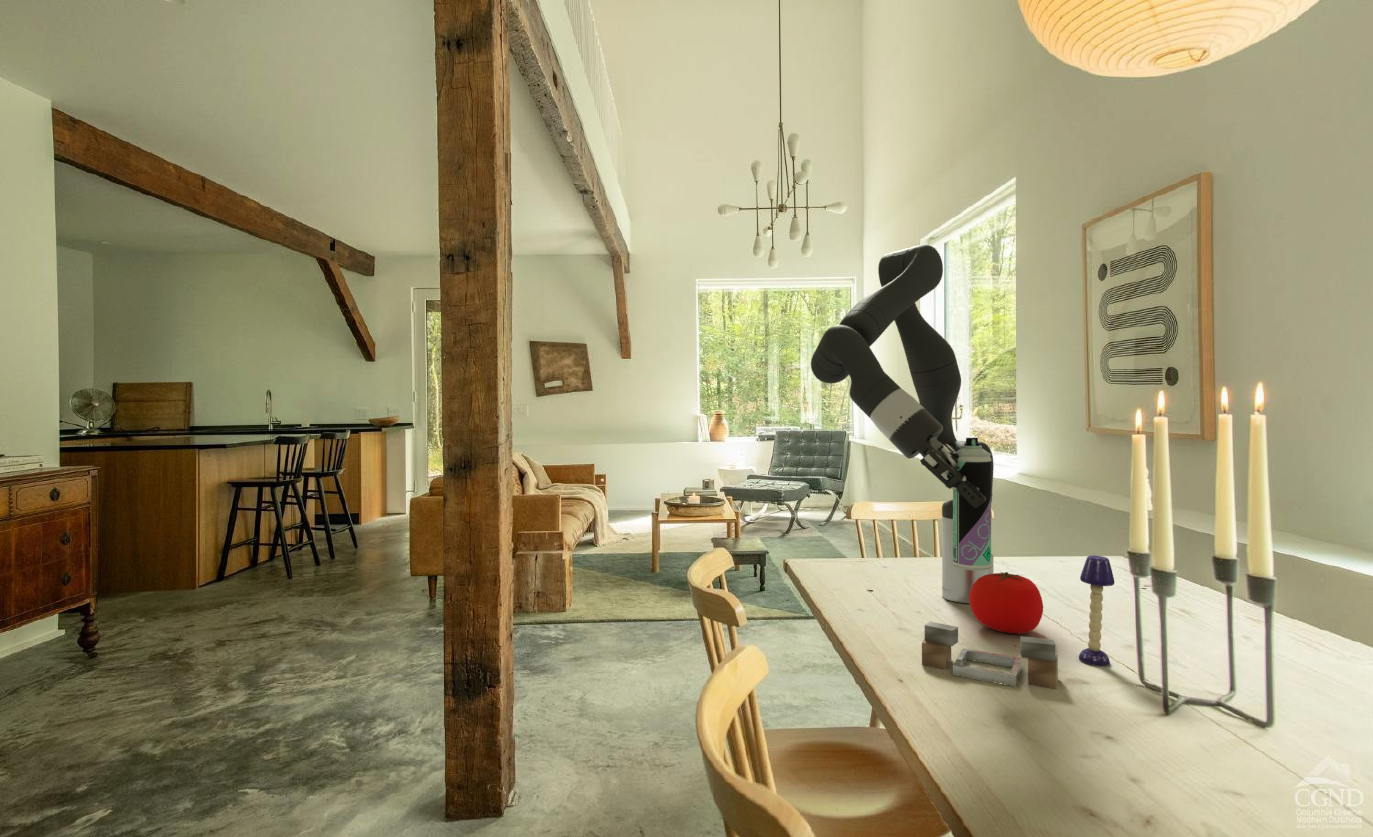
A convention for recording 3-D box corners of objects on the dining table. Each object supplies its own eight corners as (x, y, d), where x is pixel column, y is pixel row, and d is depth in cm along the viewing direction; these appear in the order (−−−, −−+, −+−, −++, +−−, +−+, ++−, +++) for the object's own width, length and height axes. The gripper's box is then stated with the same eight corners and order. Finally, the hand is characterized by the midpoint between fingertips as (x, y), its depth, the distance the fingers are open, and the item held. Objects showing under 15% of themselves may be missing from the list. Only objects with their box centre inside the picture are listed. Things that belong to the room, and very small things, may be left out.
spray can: (973, 572, 103) (974, 438, 102) (945, 564, 107) (945, 437, 107) (999, 568, 105) (999, 437, 105) (969, 561, 110) (970, 436, 110)
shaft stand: (921, 664, 108) (921, 627, 108) (928, 656, 112) (927, 620, 112) (1055, 689, 98) (1055, 648, 98) (1057, 678, 102) (1057, 639, 102)
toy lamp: (1110, 658, 110) (1110, 554, 110) (1117, 669, 105) (1117, 560, 105) (1076, 655, 111) (1076, 552, 111) (1082, 665, 107) (1082, 558, 107)
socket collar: (952, 675, 103) (952, 665, 103) (963, 657, 111) (963, 648, 111) (1015, 687, 99) (1015, 676, 99) (1022, 667, 106) (1022, 658, 106)
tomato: (1051, 629, 124) (1051, 572, 124) (1031, 646, 116) (1031, 584, 116) (984, 616, 133) (983, 562, 132) (960, 631, 124) (960, 573, 124)
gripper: (910, 406, 104) (996, 490, 98) (932, 406, 116) (1010, 480, 110) (875, 441, 107) (957, 524, 100) (901, 437, 119) (974, 511, 113)
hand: (984, 501), depth 105 cm, fingers closed on spray can, 5 cm apart
